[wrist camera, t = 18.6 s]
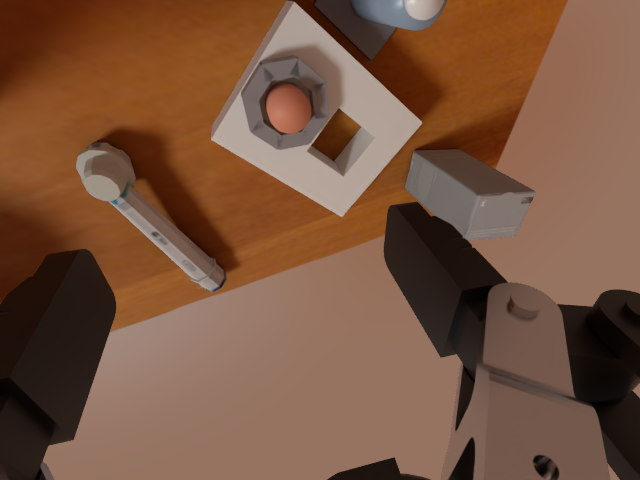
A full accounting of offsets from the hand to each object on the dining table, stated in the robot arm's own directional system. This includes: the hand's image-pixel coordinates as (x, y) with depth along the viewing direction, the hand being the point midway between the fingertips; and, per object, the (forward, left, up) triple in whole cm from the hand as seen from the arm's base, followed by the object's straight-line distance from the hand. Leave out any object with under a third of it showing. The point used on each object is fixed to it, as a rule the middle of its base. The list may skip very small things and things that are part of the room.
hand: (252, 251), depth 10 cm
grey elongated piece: (+3, -23, -37) cm, 44 cm away
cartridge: (+9, +14, -36) cm, 39 cm away
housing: (+12, 0, -36) cm, 38 cm away
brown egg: (+6, 0, -31) cm, 32 cm away
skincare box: (+32, +5, -36) cm, 49 cm away
